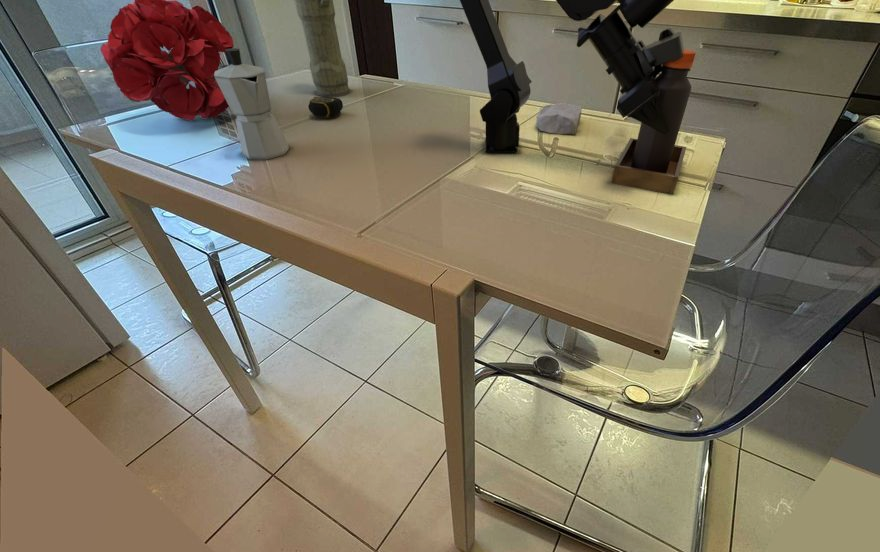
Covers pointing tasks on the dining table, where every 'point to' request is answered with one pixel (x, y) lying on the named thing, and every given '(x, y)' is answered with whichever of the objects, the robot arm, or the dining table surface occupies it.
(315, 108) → the tape measure
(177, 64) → the bouquet
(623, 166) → the tray
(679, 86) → the vinegar
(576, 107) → the stone block
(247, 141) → the coffee maker
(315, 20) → the greenish beige column
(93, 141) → the dining table surface
